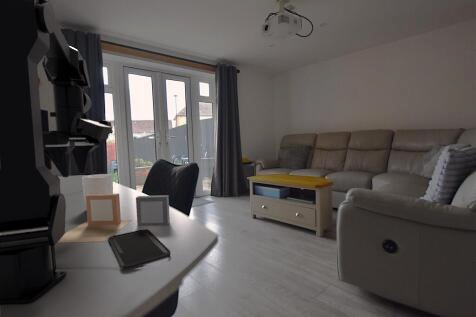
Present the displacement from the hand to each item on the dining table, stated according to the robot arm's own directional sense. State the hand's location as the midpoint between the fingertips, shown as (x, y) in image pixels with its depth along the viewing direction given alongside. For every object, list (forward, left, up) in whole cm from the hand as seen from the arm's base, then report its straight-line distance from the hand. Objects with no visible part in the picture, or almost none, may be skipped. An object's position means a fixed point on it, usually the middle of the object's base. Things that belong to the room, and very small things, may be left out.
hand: (74, 175), depth 59 cm
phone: (-14, -20, -13) cm, 27 cm away
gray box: (-2, -19, -12) cm, 23 cm away
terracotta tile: (-1, -7, -12) cm, 14 cm away
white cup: (+13, +2, -12) cm, 18 cm away
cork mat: (-5, -7, -12) cm, 15 cm away
